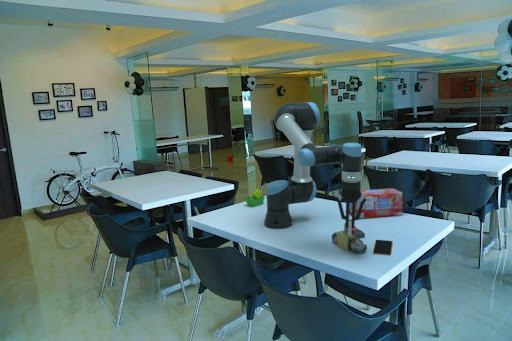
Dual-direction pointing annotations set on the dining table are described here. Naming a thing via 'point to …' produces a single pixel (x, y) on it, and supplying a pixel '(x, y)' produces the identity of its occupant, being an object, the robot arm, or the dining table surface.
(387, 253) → the smartphone
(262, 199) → the fruit basket
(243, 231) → the dining table surface
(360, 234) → the lever
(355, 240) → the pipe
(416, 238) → the dining table surface
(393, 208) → the box
